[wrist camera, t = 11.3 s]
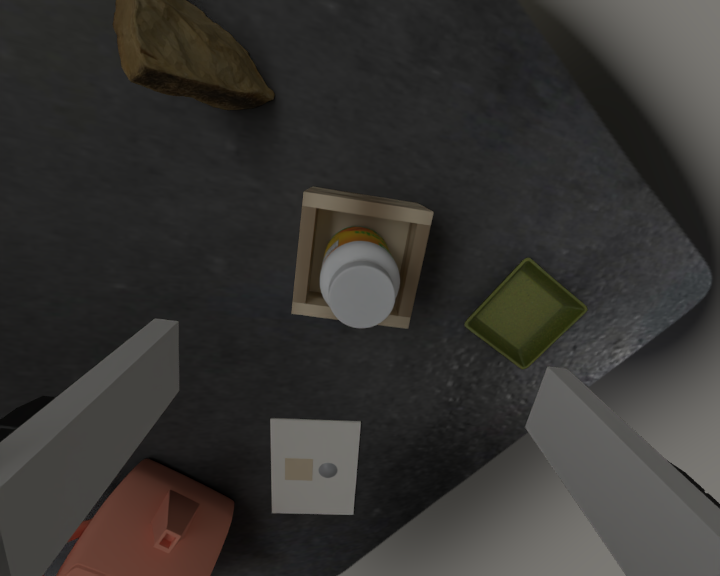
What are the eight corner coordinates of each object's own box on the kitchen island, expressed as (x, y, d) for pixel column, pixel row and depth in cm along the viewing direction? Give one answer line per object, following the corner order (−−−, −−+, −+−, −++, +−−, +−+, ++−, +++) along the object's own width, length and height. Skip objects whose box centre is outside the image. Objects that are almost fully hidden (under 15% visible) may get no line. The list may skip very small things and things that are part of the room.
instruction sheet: (272, 511, 44) (271, 513, 44) (270, 417, 39) (270, 419, 39) (353, 513, 44) (353, 515, 44) (360, 421, 40) (360, 422, 40)
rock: (76, -34, 24) (120, 121, 26) (68, -153, 17) (129, 70, 19) (233, -1, 30) (259, 123, 32) (274, -78, 23) (304, 85, 25)
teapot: (215, 580, 48) (164, 738, 35) (53, 511, 43) (-77, 663, 30) (298, 488, 43) (275, 631, 30) (126, 398, 38) (8, 521, 25)
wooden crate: (301, 287, 34) (291, 313, 28) (312, 186, 31) (303, 191, 25) (397, 300, 35) (408, 328, 29) (417, 203, 32) (433, 211, 26)
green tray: (515, 361, 38) (524, 372, 36) (456, 316, 36) (462, 325, 34) (576, 301, 36) (589, 309, 34) (517, 250, 34) (527, 255, 32)
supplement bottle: (400, 245, 30) (426, 283, 21) (366, 297, 31) (376, 353, 22) (345, 211, 29) (346, 235, 20) (312, 267, 30) (299, 313, 21)
